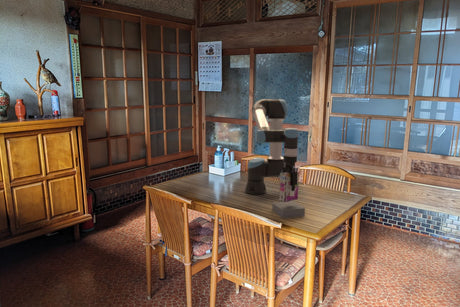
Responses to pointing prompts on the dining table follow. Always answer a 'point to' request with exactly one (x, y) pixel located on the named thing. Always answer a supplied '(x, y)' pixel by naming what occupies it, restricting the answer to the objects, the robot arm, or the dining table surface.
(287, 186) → the candy bar box
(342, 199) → the dining table surface
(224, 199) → the dining table surface
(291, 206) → the block
